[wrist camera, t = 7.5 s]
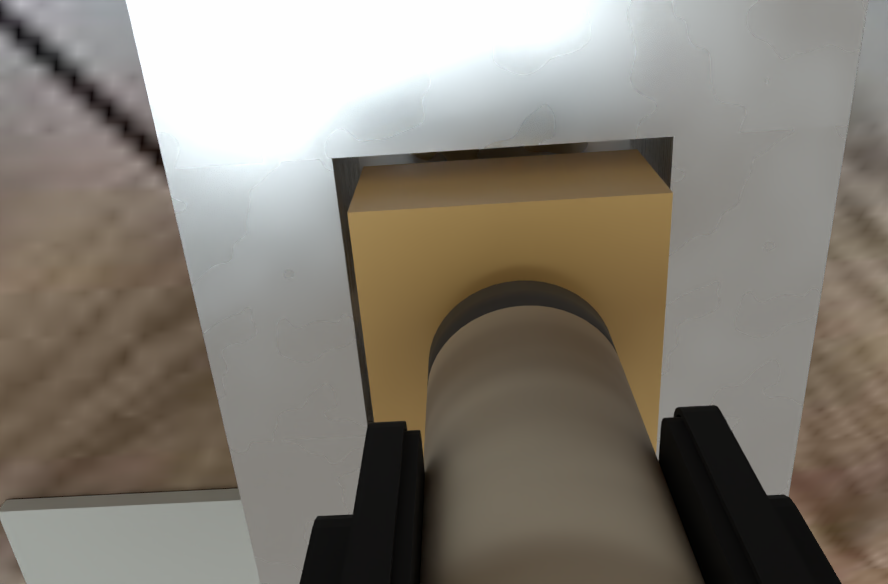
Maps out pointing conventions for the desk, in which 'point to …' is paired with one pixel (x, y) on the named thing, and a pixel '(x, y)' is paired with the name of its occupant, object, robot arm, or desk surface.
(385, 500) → the robot arm
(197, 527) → the mat
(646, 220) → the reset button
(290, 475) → the breaker box
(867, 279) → the desk surface
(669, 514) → the beige cylinder
